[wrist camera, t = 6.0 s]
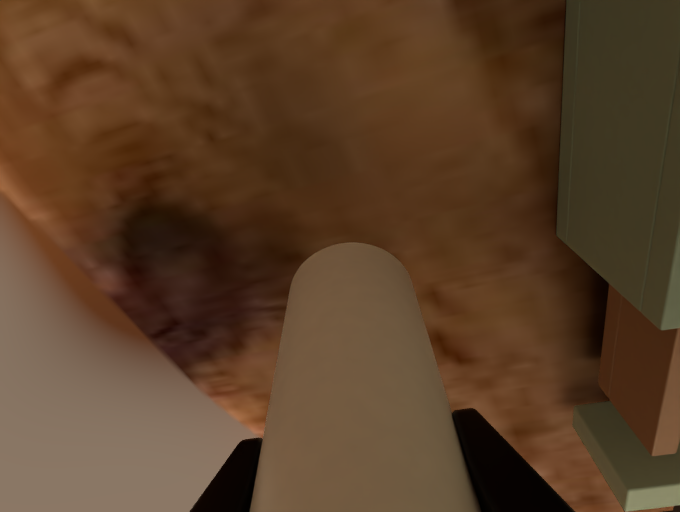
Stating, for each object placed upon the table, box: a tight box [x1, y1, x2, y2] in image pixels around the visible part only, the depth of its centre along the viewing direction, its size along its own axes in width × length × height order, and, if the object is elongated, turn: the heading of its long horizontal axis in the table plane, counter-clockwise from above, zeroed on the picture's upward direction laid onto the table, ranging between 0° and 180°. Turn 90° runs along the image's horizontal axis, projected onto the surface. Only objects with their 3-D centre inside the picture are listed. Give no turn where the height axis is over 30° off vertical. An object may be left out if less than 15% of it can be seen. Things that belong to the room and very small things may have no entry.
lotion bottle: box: [250, 242, 482, 512], centre depth 8 cm, size 4×4×10 cm
